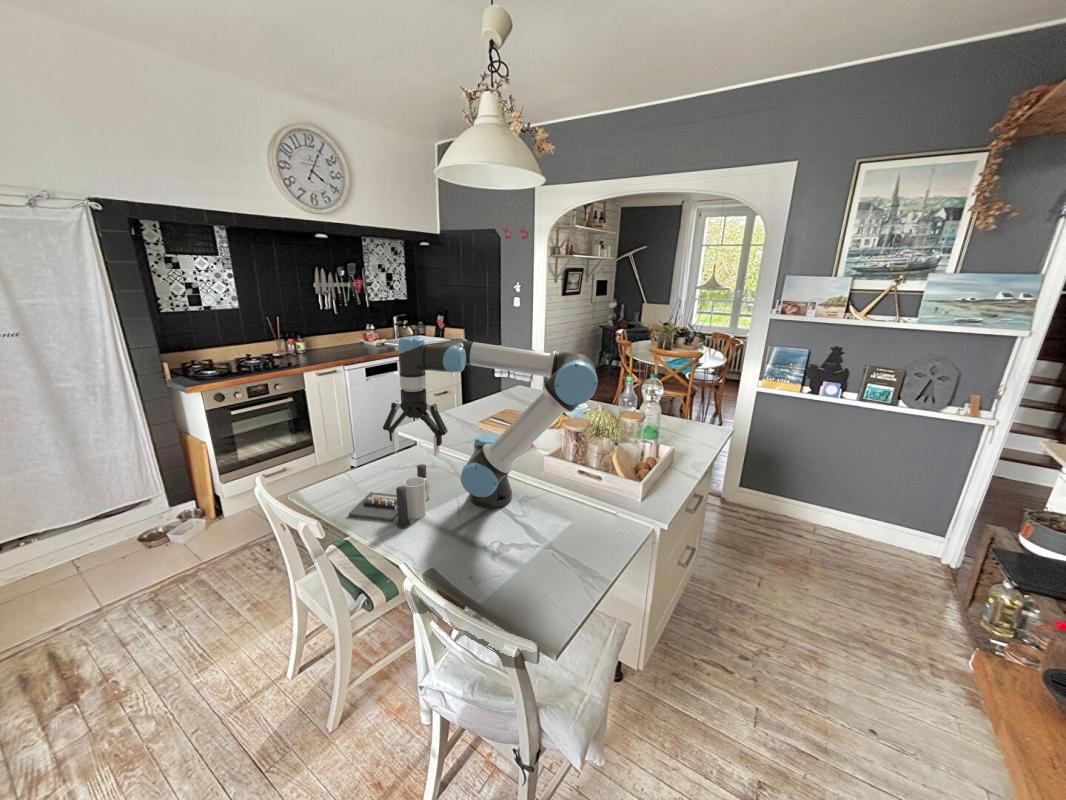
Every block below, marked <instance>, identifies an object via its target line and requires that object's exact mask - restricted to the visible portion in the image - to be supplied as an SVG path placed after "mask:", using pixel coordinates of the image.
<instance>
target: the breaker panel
mask: <svg viewBox="0 0 1066 800" xmlns="http://www.w3.org/2000/svg"><path fill="white" fill-rule="evenodd" d="M348 517H350V518H356V519H366V520H374V521H382V522H383V521H384V522H392V523H393V522H395V519H397V518H398V510H397V495H396V494H392V493H390V494H389V493H381V492H373V491H371V492H369V493H368V494H367V495H366V496H365V497H364V498H362V500H360V502H358V504H357V505H356V506H354V508H352V510H350V512H348Z"/></svg>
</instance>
